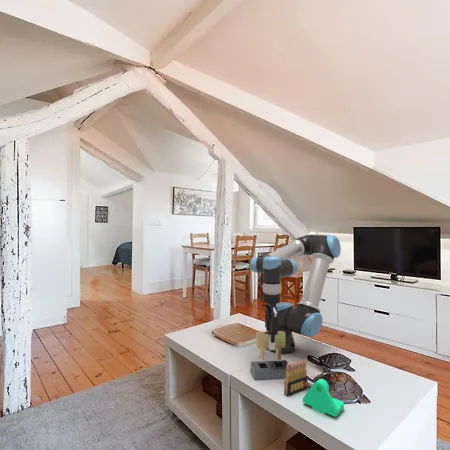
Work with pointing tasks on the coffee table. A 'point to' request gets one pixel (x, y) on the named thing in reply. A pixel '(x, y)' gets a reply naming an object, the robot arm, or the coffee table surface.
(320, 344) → the coffee table surface
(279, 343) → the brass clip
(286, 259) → the robot arm
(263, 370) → the grey block with holes
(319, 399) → the camera mount
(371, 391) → the coffee table surface
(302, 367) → the ammunition clip
